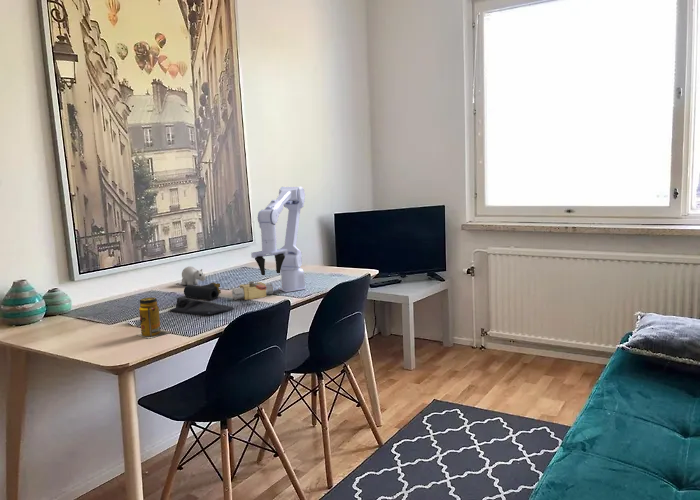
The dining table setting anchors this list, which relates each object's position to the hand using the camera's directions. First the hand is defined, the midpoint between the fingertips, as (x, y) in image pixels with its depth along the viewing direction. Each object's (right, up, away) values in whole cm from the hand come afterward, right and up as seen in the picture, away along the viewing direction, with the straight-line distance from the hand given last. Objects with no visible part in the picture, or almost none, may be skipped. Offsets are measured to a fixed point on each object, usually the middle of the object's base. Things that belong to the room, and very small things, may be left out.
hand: (270, 273), depth 238 cm
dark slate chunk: (-24, -14, -11) cm, 30 cm away
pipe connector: (-28, -10, +11) cm, 32 cm away
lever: (-6, -5, +2) cm, 8 cm away
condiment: (-33, -18, -41) cm, 56 cm away
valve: (-8, -10, +7) cm, 14 cm away
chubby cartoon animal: (-39, -7, +34) cm, 52 cm away
